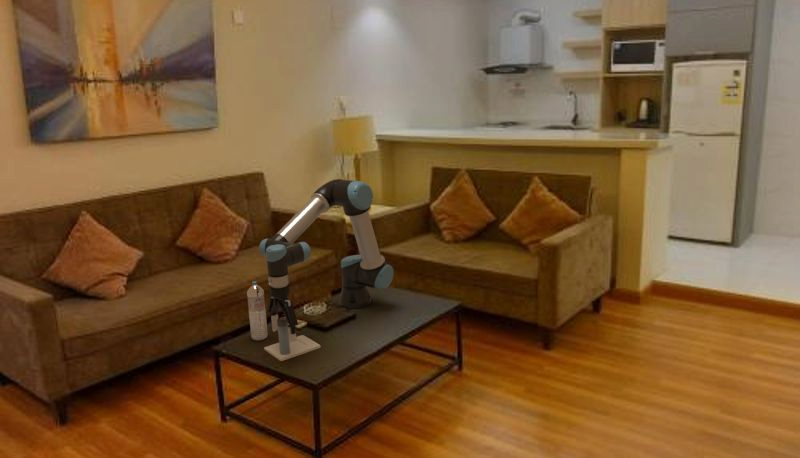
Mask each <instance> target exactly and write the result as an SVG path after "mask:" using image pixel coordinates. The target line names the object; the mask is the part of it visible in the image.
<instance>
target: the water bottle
mask: <svg viewBox="0 0 800 458" xmlns="http://www.w3.org/2000/svg"><path fill="white" fill-rule="evenodd" d="M251 283H252V285H251V286H250V287H249V288H248V289H247V292H246V295H247V305H248V316H249V317H248V318H249V325H250V336H251V337H250V338H251V340H253V341H256V342H257V341H264V340H265V339H267V338H268V335H269V334H268V325H267V324H268V323H267V311H266V305H265V291H264V289H263V288H262V287H261V286H260V285H258V282H257V281H256V280H254V281H252V282H251Z"/></svg>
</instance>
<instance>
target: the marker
mask: <svg viewBox="0 0 800 458" xmlns="http://www.w3.org/2000/svg"><path fill="white" fill-rule="evenodd" d="M277 326H278V330H277V334H278V336H277V337H278V343H279V348H280V354H282V355H286V354H289V353H290V343H289V332H288V326H289V324H288V322H287V320H286V317H278V319H277Z"/></svg>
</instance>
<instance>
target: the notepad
mask: <svg viewBox="0 0 800 458" xmlns="http://www.w3.org/2000/svg"><path fill="white" fill-rule="evenodd" d="M289 343H290V353H289V354H286V355H282V354H280V348H279V342H277V343H273V344H271V345H268V346H264V347H263V349H264V351H266V352H267V353H268V354H270V355H271V356H272V357H274V358H276V359H277V360H278V361H280V362H282V361H283V362H284V361H285V360H289V359H291V358H294V357H297V356H300V355H304V354H306V353H310V352H312V351H315V350H317V349H318V350H319V349H320V348H321V345H320V344H319V343H318V342H315V341H314V340H312V339H311V338H309V337H307V336H305V335H304V334H301V335H298V336H296V341H293V342H289Z"/></svg>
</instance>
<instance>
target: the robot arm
mask: <svg viewBox="0 0 800 458" xmlns="http://www.w3.org/2000/svg"><path fill="white" fill-rule="evenodd" d="M373 199H374V193H373V189H372V188H371V186H370V185H369V184H368V183H365V182H364V181H360V180H348V179H342V178H341V179H340V178H337V179H332V180H330V181H328V182H326V183H324V184H322V185H321V186H320V187H318V188H317V189H316V190H315V191H313V193H312V194H311V195H310V199H309V200H308V201H307V202H306V203H305V204H304V205H303V206H302V207H301V208H300V209H299V210H298V211H297V212H296V213H295V214H294V215H293V216H292V217H291V219H289V221H287V222H286V223H285V224H284V225H283V226H282V228H281V229H280V230H279V231H277V233H275V235H273V237H271V238H264V239H262V240H261V241H260V243H259V246H258V247H259V248H258V249H259V253H260V254H261V255H262V256H263V257H265V260H266V267H267V275H268V279H267V281H268V284H269V300H268V306H267V313H269V315H270V318H271V319H270V320H271V327H272V328H271V329H272V332H276V331H277V332H278V326H277V319H279V313H278V311H279V309H280V311H281V312H282V313H283V315H284V318H286V320H287V322H288V332H289V342H293V341H296V337H297V332H296V331H297V330H296V329H297V328H296V327H297V326H298V325H299V321H298V318H297V315H296V312H295V308H294V306H293V305H294V304H293V300H292V299H290V300H289V299H288V296H289V294H290V293H291V290H290V278H289V277H290V276H289V267H292V266H294V265H298V264H300V263H304V262H305V261H307V260H309V258H310V257H311V255H312V251H311V246H310V245H309V244H308V243H307V242H305V241H300V242H297V243H294V242H295V241H297V240H298V238H299V237H300V236H301V235H302V234H303V233H305V231H306V230H307V229H309V227H310V226H311V225H312V224H313V223H314V222H315V221H316V219H318V218H319V217H320V215H321V214H322V213H323V212H328V211H329V210H330V208H332V207H335V206H336V207H341V208H342V209H343V212H344V215H345V216H346V217H349V221H350V224H351V226H352V231H353V234H354V238H355V241H356V244H357V248H358V251H359V254H353V255H348V256H345V257H343V258H342V259H341V260H340V273H341V274H340V275H341V285H342V286H341V287H342V288H341V292H340V296H339V299H338V300H339V305H340V306H341V305H342V306H345V307H347V308H346V309H362V308H365V307H368V306H370V305H371V303H372V297H371V294H370V292H369V288H372V289H377V290H384V289H385V290H386V289H387V288H388V287H389V286H390V285H391V283H392V281H393V277H394V268H393V266H392V265H390V264H388V263H387V262H386V259H385V256H384V255H382V254H381V253H380V249H379V245H378V241H377V238H376V235H375V231H374V228H373V224H372V220H371V216H370V213H369V211H370V209H371V206H372V204H373V201H374V200H373ZM342 306H341V307H342ZM345 307H344V308H345Z"/></svg>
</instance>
